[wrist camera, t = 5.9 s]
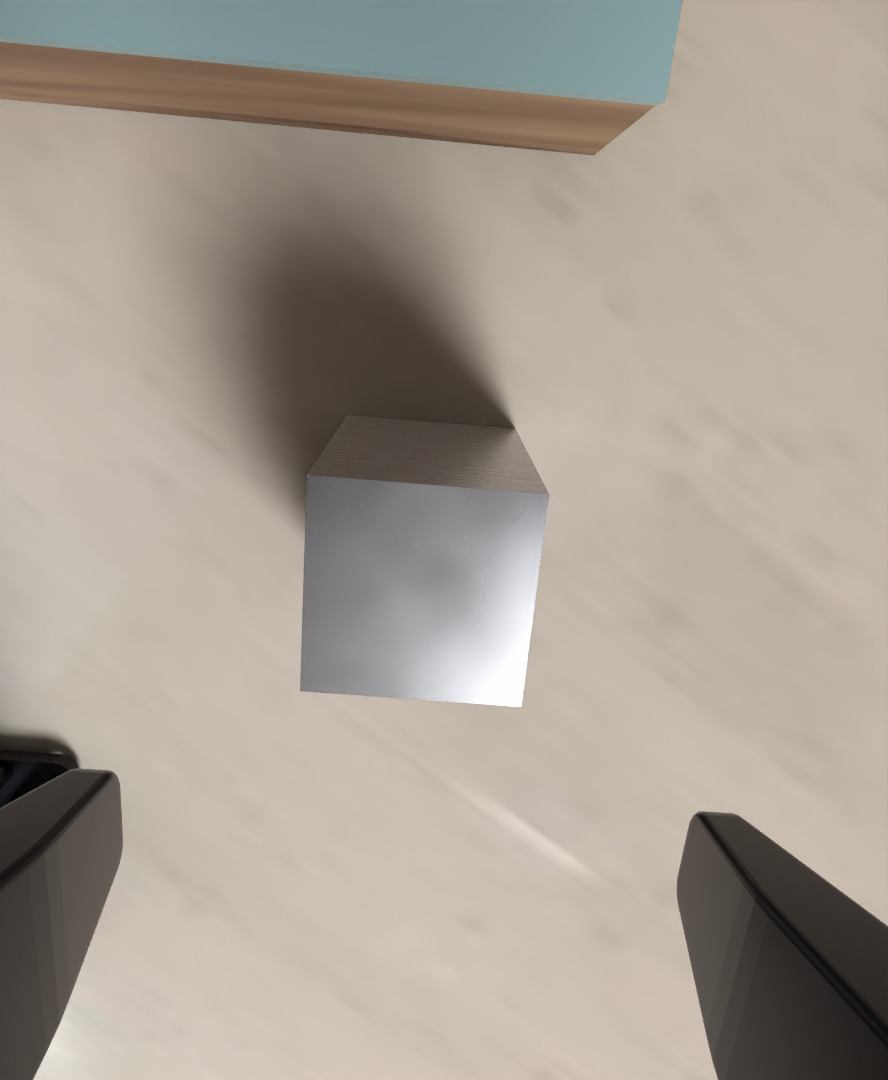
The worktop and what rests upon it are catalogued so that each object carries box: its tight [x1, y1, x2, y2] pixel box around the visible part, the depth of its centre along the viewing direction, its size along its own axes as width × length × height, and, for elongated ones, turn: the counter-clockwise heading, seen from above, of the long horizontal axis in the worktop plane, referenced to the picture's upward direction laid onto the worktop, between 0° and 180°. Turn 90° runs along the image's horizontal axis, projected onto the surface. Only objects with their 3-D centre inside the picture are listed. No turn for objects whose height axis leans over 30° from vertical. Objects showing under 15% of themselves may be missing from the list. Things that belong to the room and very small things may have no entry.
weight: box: [300, 415, 549, 707], centre depth 16 cm, size 4×4×6 cm
